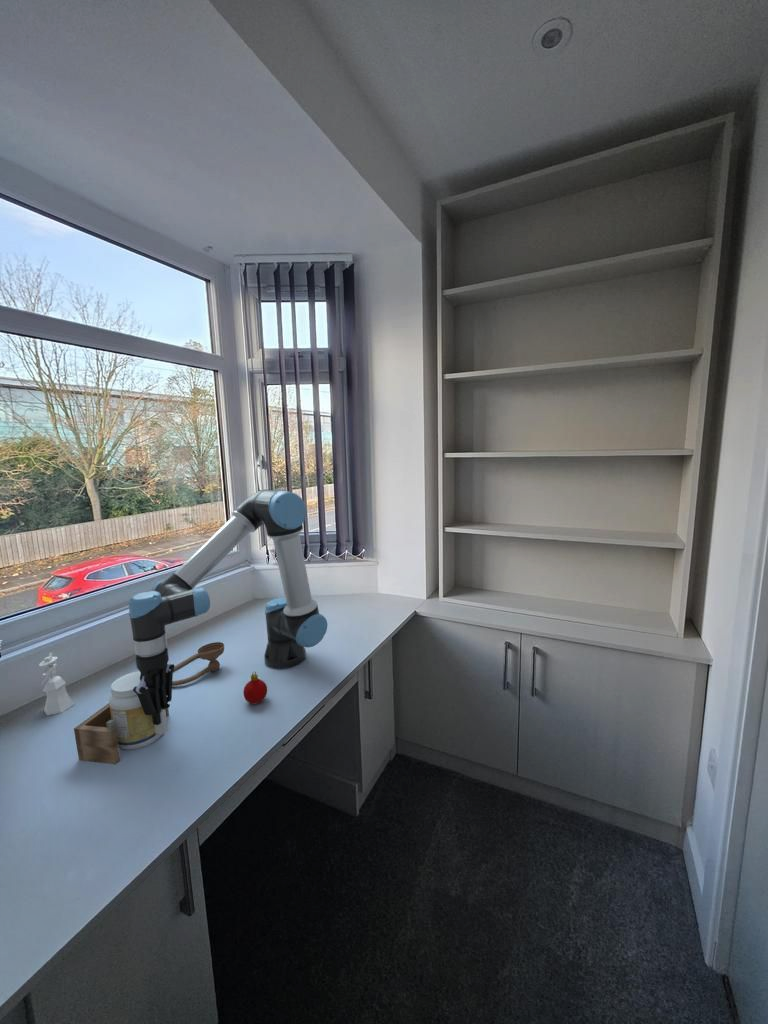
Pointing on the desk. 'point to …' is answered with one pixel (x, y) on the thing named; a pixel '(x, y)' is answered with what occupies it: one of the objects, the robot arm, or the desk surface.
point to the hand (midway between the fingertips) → (161, 732)
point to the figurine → (54, 688)
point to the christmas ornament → (255, 690)
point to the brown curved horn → (205, 653)
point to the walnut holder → (98, 738)
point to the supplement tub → (130, 714)
